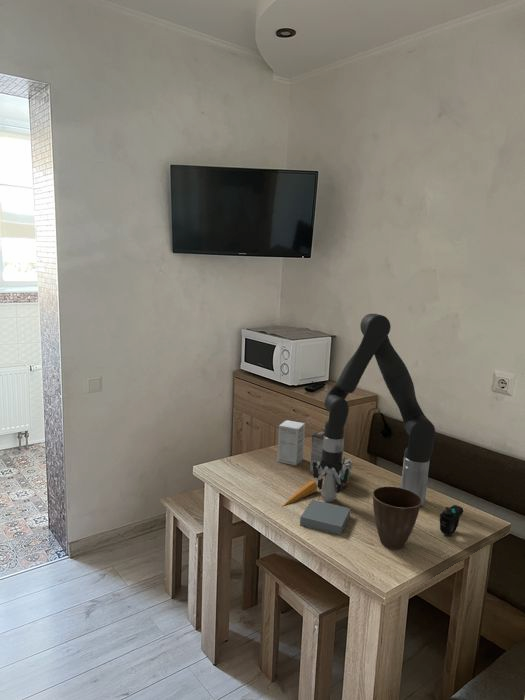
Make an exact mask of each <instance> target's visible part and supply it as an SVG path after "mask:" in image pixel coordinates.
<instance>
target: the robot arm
mask: <svg viewBox="0 0 525 700" xmlns="http://www.w3.org/2000/svg"><path fill="white" fill-rule="evenodd" d="M359 326H360V327H359V328H360V331H361V333H362V335H363V337H362V338H361V339H362V340H361V341H360V344H359V346H358V347H357V349H356V351H355V352H354V354H353V355H351V357H350V359H348V361H347V363H346V364H345V366H344V368H343V370H342V371H341V373H340V375H339V377H338V379H337V382H336V383H334V385H333V387H332V388H331V389H330V390H329V392H328V393H327V395H326V397H325V400H324V407H325V409H326V410H327V411H328V412H329V417H328V420H326V422H325V424H324V430H325V432H324V439H323V445H322V447H323V448H322V460H321V462H320V461H317V460H315V461H314V462H313V471H312V476H313V478H316V479H317V489H319V490H321V491H322V488H323V485H324V482H323V481H324V478H323V477H324V476H325V475H326V474H327V473H326V471H327V469H328V468H332V471H333V473H334V475H333V476H335V478H336V479H337V482H338V484H337V489H336V491H337V494H339V493H341V492H342V490H343V489H342V484H346V482H347V480H348V476H349V477H350V475H349V471H350V472H351V470H350V467H345V466H343V465H342V460H343V457H344V456H343V454H344V442H345V441H344V436H345V425H346V423H347V419H348V416H349V410H350V409H349V403H348V402H347V400H346V398H347V397H348V395H349V394H352V393H354V392H355V390H356V389H357V387H358V385H359V383H360V381H361V379H362V377H363V375H364V372H365V371H366V369H367V368H368V365H369V364H370V362H371V360H372V359H373V357H374V358H375V361H376V363H377V367H378V369H379V371H380V373H381V376H382V378H383V381H384V384H385V385H386V388H387V390H388V391H389V393H390V395H391V397H392V399H393V400H394V401H393V402H395V404H396V405H397V408H398V410H399V412H400V415H401V418H402V421H403V424H404V429H405V431H406V434H407V435H408V436H409V437H408V446H407V447H406V448H405V449H404V453H403V454H404V456H403V461H402V462H403V465H402V472H401V473H402V474H401V483H400V488H403V489H406V490H409V491H411V492H413V493H415V494H417V495H418V496H419V497H420V499H421V505H420V507H425V503H426V495H427V488H428V478H429V468H430V462H431V461H430V460H431V456H432V455H433V451H434V445H435V439H436V438H435V437H436V427H435V425H434V423H432V421H431V420H430V419H429V418H427V416H426V415H425V413H424V412H423V410H422V408H421V406H420V404H419V402H418V399H417V396H416V391H415V386H414V382H413V379H412V377H411V374H410V372H409V369H408V367H407V366H406V364H405V362H404V360H403V359H402V358H401V356H400V355H399V354H398V352H397V351H396V349H395V348H394V347H393V345H392V342H391V341H390V338H389V334H390V332H391V321H390V320H389V319H388V318H387V317H386V316H385V315H382V314H378V313H368V314H365V316H363V318H362V319H361V322H360V324H359ZM319 465H320V466H321V467H322V469H323V471H322V472H321V474H319V473H318V467H319ZM342 469H343V472H344V473H345V475H344V479H342V477H341V474H340V471H341V470H342Z"/></svg>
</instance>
